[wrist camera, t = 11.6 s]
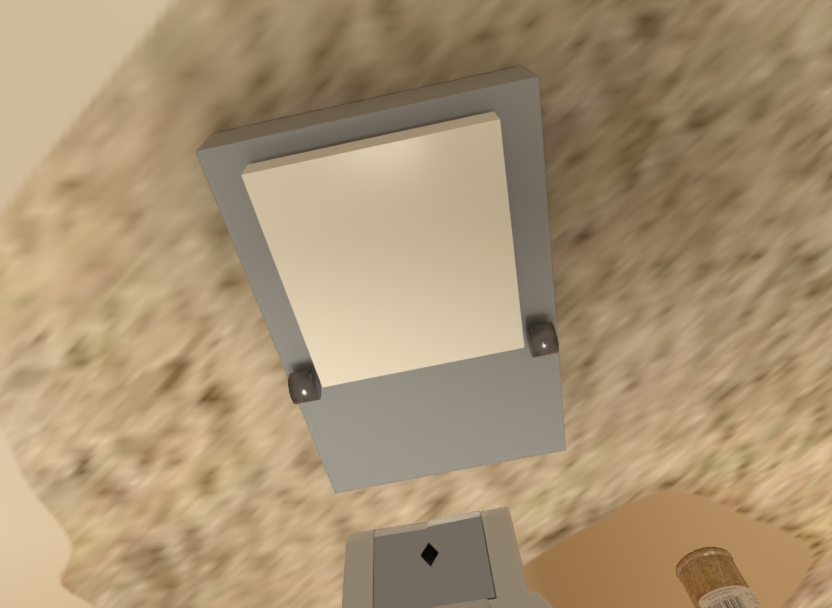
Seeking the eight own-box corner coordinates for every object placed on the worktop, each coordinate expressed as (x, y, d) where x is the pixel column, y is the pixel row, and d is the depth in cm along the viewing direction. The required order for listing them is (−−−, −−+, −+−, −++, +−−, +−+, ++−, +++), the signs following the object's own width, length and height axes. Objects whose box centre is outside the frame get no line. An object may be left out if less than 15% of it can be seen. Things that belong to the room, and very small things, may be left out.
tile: (524, 347, 26) (517, 330, 28) (499, 119, 20) (492, 109, 22) (322, 387, 27) (324, 369, 28) (241, 175, 21) (247, 163, 22)
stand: (520, 65, 24) (550, 83, 20) (551, 415, 35) (574, 472, 31) (214, 133, 25) (183, 163, 21) (337, 456, 36) (333, 517, 32)
